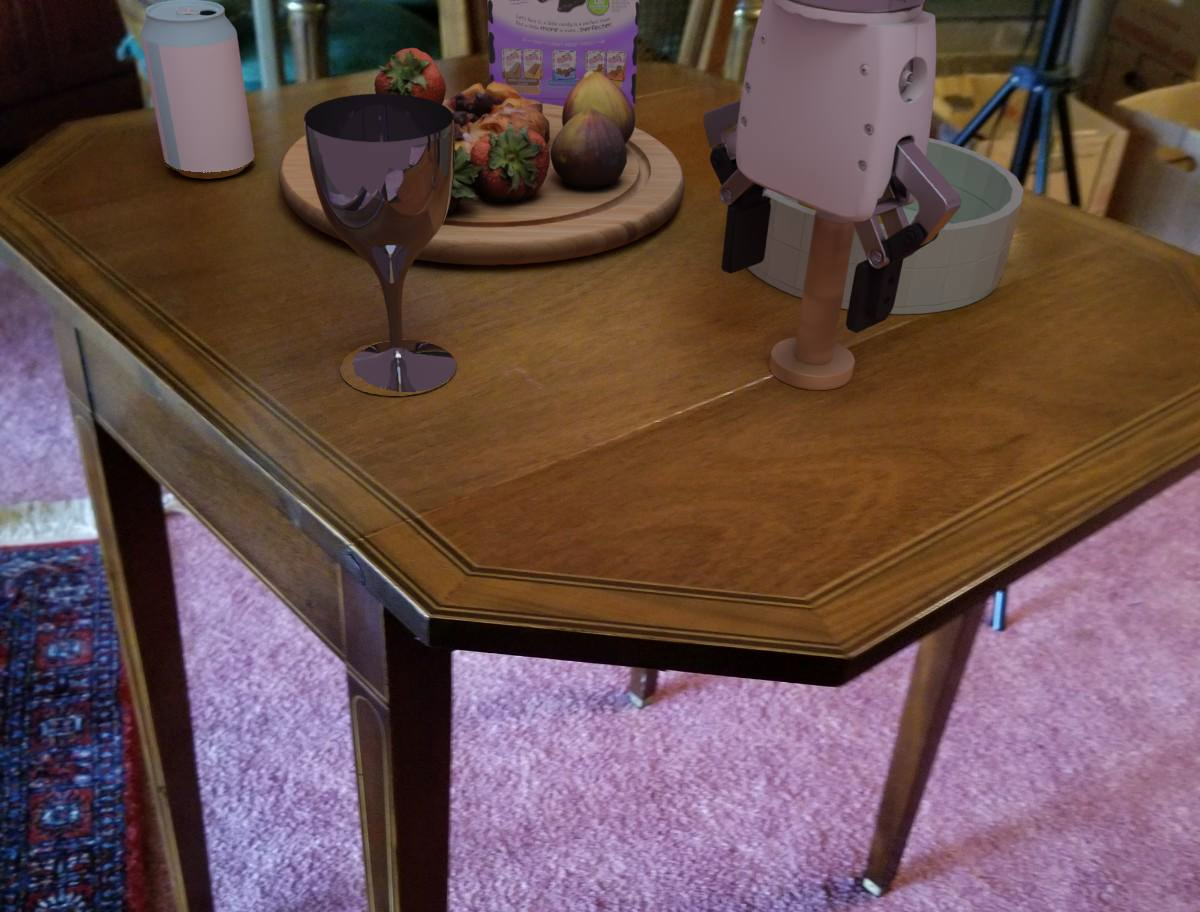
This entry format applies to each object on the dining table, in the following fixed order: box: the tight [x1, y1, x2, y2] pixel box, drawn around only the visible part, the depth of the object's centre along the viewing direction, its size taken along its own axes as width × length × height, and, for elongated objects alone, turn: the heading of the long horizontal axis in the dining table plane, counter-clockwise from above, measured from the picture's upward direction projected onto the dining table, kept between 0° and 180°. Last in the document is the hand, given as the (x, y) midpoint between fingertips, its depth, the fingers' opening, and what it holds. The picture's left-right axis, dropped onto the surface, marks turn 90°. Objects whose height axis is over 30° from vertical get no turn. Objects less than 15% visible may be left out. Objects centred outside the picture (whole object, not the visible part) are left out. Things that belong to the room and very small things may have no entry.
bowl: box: [746, 137, 1025, 315], centre depth 88 cm, size 20×20×6 cm
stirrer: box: [768, 210, 856, 391], centre depth 73 cm, size 5×5×10 cm
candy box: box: [486, 0, 640, 109], centre depth 110 cm, size 14×6×16 cm, turn 91°
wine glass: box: [303, 93, 458, 392], centre depth 69 cm, size 8×8×15 cm
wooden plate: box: [278, 47, 686, 266], centre depth 94 cm, size 32×32×8 cm
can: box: [139, 0, 255, 173], centre depth 95 cm, size 7×7×12 cm
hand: (802, 294), depth 71 cm, fingers open, 9 cm apart
